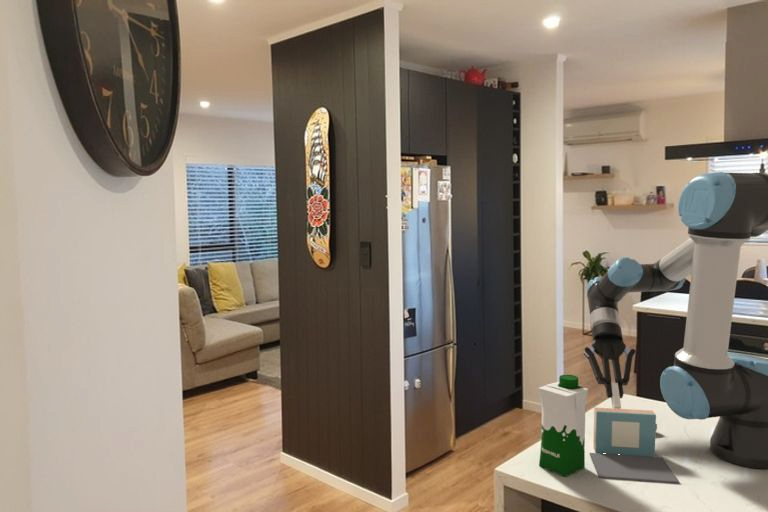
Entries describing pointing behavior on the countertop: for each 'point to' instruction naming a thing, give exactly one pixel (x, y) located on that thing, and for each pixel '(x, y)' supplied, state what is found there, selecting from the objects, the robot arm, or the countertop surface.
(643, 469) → the rubber mat
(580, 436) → the milk carton
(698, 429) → the countertop surface
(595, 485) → the countertop surface
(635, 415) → the terracotta tile
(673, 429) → the countertop surface
